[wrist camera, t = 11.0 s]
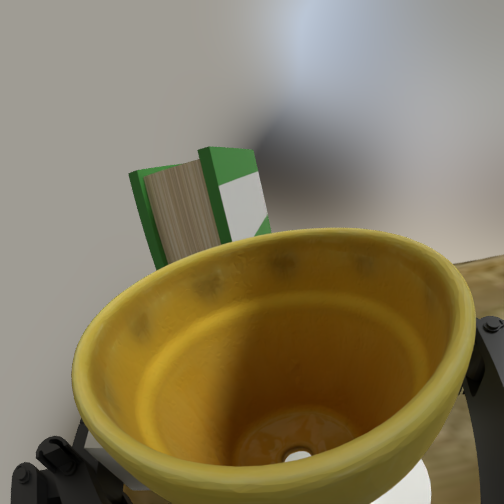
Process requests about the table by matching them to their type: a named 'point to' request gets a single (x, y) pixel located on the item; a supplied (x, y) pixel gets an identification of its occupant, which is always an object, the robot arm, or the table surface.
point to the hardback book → (200, 203)
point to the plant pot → (279, 368)
